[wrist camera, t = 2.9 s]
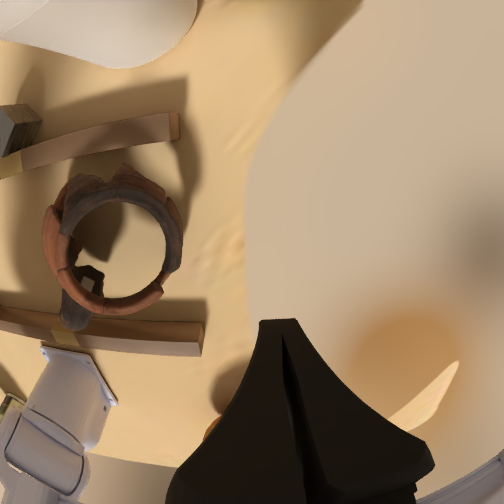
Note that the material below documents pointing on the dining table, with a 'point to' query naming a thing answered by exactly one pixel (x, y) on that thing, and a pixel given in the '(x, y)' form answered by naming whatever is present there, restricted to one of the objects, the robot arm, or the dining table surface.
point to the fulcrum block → (17, 128)
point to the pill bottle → (99, 28)
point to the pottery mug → (67, 249)
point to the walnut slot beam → (99, 329)
